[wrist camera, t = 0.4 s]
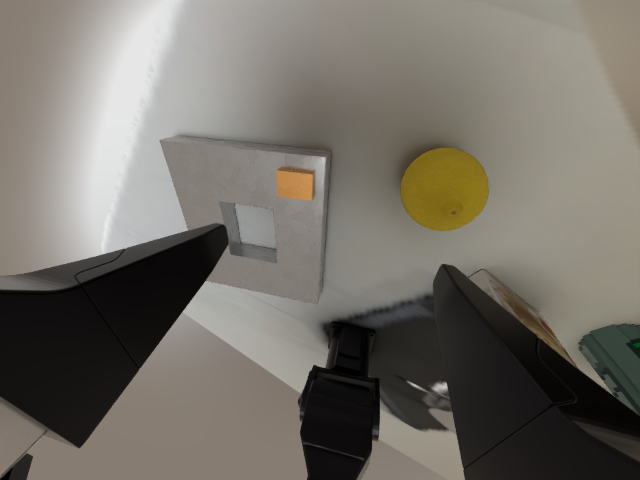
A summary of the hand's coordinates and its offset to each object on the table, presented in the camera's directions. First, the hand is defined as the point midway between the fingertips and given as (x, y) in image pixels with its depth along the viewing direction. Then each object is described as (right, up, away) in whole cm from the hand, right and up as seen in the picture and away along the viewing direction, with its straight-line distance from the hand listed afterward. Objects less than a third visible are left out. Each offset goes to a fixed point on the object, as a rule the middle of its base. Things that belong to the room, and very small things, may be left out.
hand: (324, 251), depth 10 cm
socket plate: (-7, +2, +18) cm, 19 cm away
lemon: (+10, +6, +11) cm, 16 cm away
